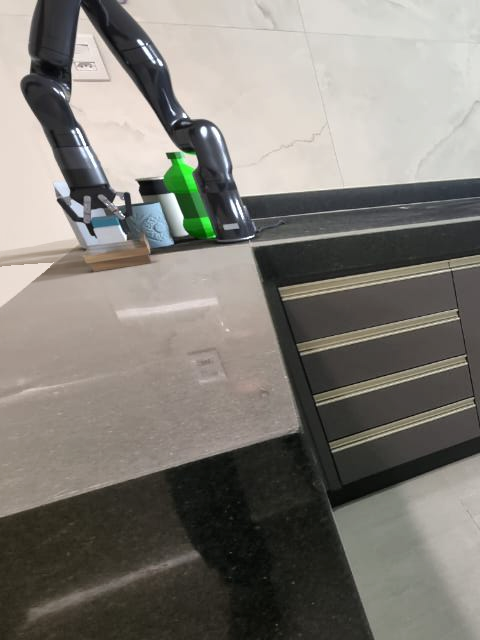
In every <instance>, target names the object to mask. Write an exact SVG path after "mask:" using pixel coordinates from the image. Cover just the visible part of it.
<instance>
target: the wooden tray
mask: <svg viewBox="0 0 480 640" xmlns="http://www.w3.org/2000/svg"><path fill="white" fill-rule="evenodd" d="M151 253H152V252H151V248H150V245H149V242H148V240H147V237H146V235H145V233H144V232H140V239H134V240H133V239H129V240H128V239H126V241H125V242H117V243H110V244H102V245H100V244H97V245H89V246H88V247H87V249H85V251H84V253H83V255H82V256H83V259H84V261H85V263H86V264H89V265H90V267H91V269H92V271H93V273H95V272H102V271H107V270H108V271H109V270H115V269H121V268H128V267H134V266H140V265H147V264H152V262H153V261H152V259H151V257H150V255H151Z"/></svg>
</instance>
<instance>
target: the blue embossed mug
mask: <svg viewBox="0 0 480 640" xmlns="http://www.w3.org/2000/svg"><path fill="white" fill-rule="evenodd" d="M131 204H132V212H133V215H132V216H129V217H127V218H126V221H127V223H128V225H129V228H130V232H128V235H130V236H131V240H134V239H140V232H144V233H145V235H146V237H147V240H148V242H149V245H150V249H157V248H163V247H164V248H165V247H169V246H172V245H174V244H175V241H174V238H173V237H172V234H171V232H170V230H169V226H168V223H167V221H166V219H165V216H164V213H163V210H162V207H161V204H160V202H145V203H144V202H137V203H131ZM116 207H117V208H118V209H119V210H120V211H121V213H124V212H126V208H125V204H123V205H116Z"/></svg>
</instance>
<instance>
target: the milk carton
mask: <svg viewBox="0 0 480 640" xmlns="http://www.w3.org/2000/svg"><path fill="white" fill-rule="evenodd" d="M52 185H53V187H54V193H55V197H56V200H57V199H58V198H63V197H66V196H70V189H69V187H68V185H67V183H66V181H65V180H63V181H52ZM71 203H72V205H70V207H71V208H72V209H73V210H74V212H75V213H76V214H77V215H78V216H79V217H84V206H82V205H81V204H79V203H77V202H76V201H74V200H73V199H72V200H71ZM61 209H62V211H63V213H64V215H65V217H66V220H67V221H68V223H69V225H70V227H71V229H72V231H73V233H74V235H75V238H76V240H77V241H78V243H79V245H80V247H81V249H85V250H86V249H87V247H88V246H89V245H97V244H99V242H98V240H97V238H95V236H91V235H90V233H89V231H88V229H87V227H86V225H85V224H84V223H81V222H74V221H73V220H72V219H71V218H70V216H69V215H68V214H67V213H66V212H65V210H64V209H63V208H62V207H61ZM101 216H107V214H106V212H105V210H104V209H103V208H98V209H95V210H91V219H92V217H101Z"/></svg>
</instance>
